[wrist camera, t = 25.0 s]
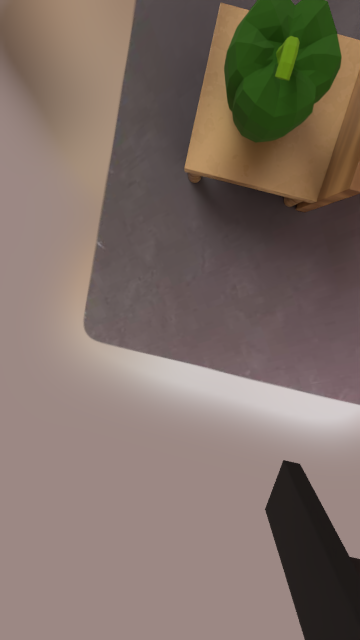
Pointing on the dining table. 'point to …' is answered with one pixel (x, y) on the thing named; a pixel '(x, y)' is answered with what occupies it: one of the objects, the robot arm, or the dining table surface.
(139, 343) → the dining table surface
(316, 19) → the bell pepper
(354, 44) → the miniature wooden chair
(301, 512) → the robot arm
